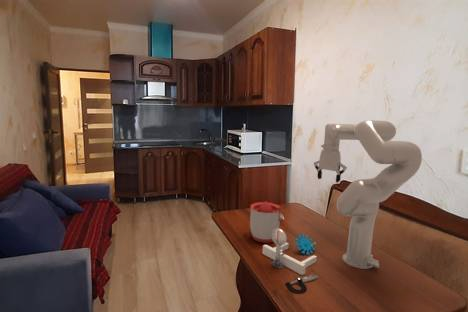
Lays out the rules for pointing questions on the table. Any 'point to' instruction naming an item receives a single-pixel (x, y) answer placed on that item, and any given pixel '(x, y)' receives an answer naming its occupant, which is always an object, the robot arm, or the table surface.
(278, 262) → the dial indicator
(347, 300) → the table surface
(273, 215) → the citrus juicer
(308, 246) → the gear
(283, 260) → the white angled bar
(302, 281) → the micrometer
